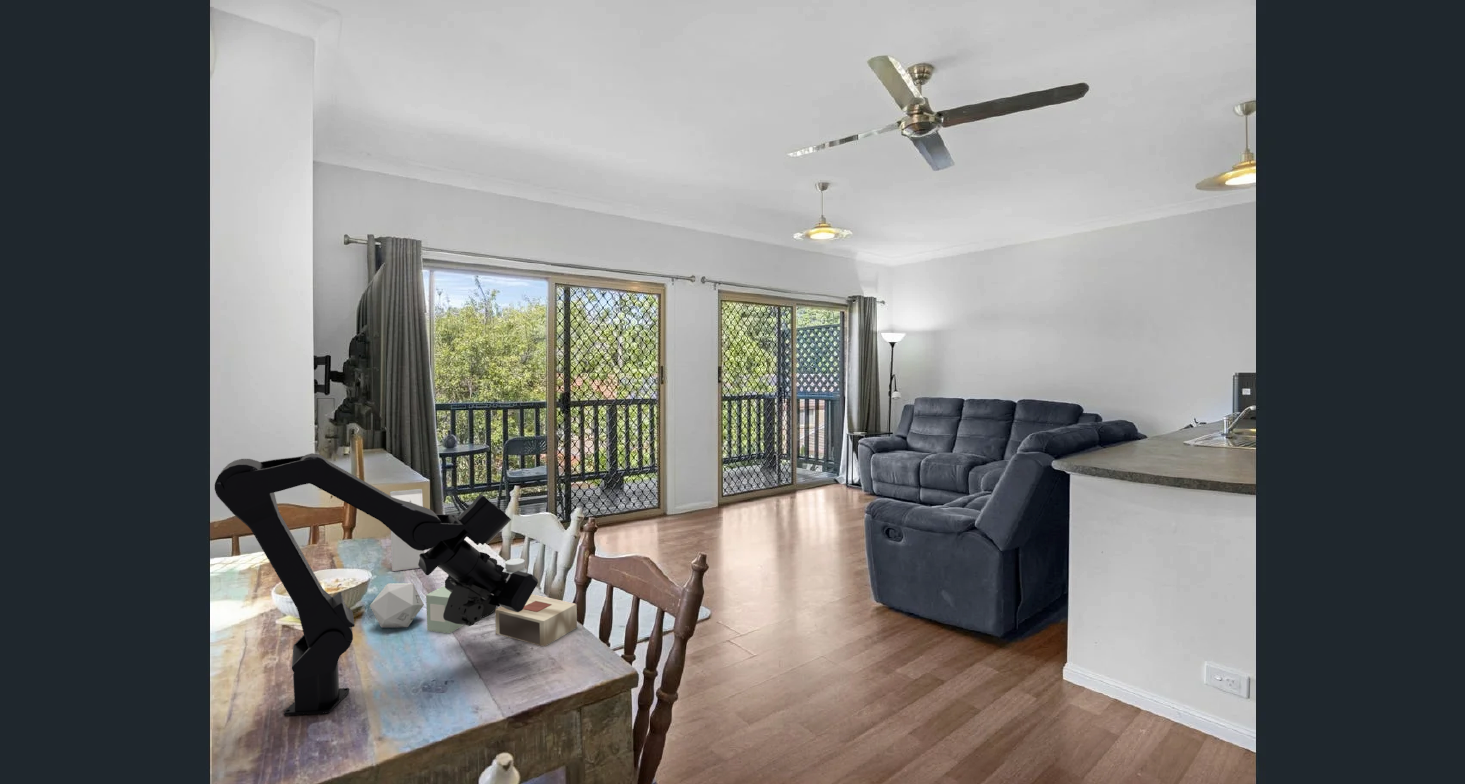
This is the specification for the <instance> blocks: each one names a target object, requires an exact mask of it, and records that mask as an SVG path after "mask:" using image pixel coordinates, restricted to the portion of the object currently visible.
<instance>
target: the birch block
mask: <svg viewBox="0 0 1465 784" xmlns="http://www.w3.org/2000/svg"><path fill="white" fill-rule="evenodd" d="M577 607H578V605H577V603H573V602H570V601H565V600H560V599H556V598H551V597H545V596H543V595H542V596H541V595H537V594H533V593H532V594H531V596H530V598H529V599H528V601H527V603H526V604H525V606H524V608H523V610H522V611H520V612H515V611H511V610H508V609H506V608H504V607H502V606H498V607H496V609H495V611H494V613H495V614H494V618H495V635H498V636H503V637H506V638H510V639H513V640H519V641H522V642H526V643H529V644H533V645H537V646H542V647H546V646H548V645H550V644H551V643H553V642H555V641H556V640H558V639H560V638H562V637H563V636H565V635H567V634H568V633H570V632H572V631H574V630H575V629H578V614H577V612H578V610H577V609H578V608H577Z"/></svg>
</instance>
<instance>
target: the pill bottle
mask: <svg viewBox="0 0 1465 784" xmlns="http://www.w3.org/2000/svg"><path fill="white" fill-rule="evenodd" d="M504 566H505V567H504V569H505V570H504V572H507V573H510V574H512V573H514V572H517V571H521V572H525V573H528V569H527V568H525V566H526V560H525V559H524V558H520V557H519V558H510V559H508V560H506V561H505V565H504Z"/></svg>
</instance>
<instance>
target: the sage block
mask: <svg viewBox="0 0 1465 784" xmlns="http://www.w3.org/2000/svg"><path fill="white" fill-rule="evenodd" d="M450 594H451V592H450V591H449V590H447V589H446V588H445V585H442V586H441V587H439V588H438V589H435V590H433V591H431V592H430V593H427V594H426V595H425V596H426V598H425V600H426V630H427V632H435V633H443V634H451V633H453V632H454V631H456V630H458V629H459V628H461V627H463V626H464V625H462V624H455V623H452V622H449V621H446V620H444V618H443V614H444V611H445V608H446V605H447V602H448V599H449V596H450Z"/></svg>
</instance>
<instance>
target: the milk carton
mask: <svg viewBox="0 0 1465 784" xmlns="http://www.w3.org/2000/svg"><path fill="white" fill-rule="evenodd" d="M389 496H391V497H393V498H396V499H399V500H403V501H406V502H410V503H413V504H416V505H419V506H422V507H424V499H423V488H418V489H407V490H406V489H405V490H394V491H390V492H389ZM390 546H391V547H390V549H391V571H392V572H397V571H406V570H414V569H421V568H420V567H419V566H418V563H419V560H420V556H419V555H420V554H421V553H425V550H424V551H419V550H416V549H413V548H412V547H410V546H409V545H408V544H406V543H405V542H404V541H403V540H402V539H400V538H399V537H398V536H397V535H395V534H394V533H393V532H392V531H391V530H390Z"/></svg>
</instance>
